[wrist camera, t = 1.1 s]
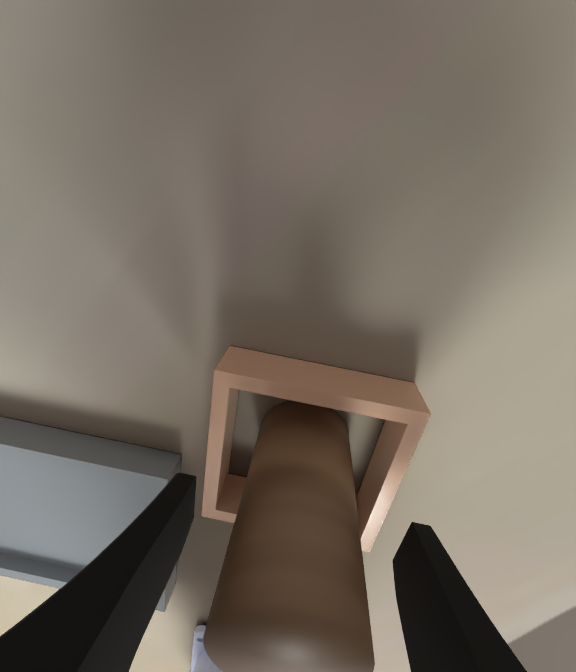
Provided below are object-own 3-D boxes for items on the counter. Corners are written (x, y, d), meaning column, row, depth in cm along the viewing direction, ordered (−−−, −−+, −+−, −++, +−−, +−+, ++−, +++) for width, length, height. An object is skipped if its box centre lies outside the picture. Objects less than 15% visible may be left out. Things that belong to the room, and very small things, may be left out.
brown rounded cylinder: (337, 477, 15) (349, 711, 8) (254, 460, 15) (198, 677, 8) (358, 409, 13) (398, 629, 6) (266, 391, 13) (209, 587, 7)
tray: (175, 583, 20) (164, 611, 18) (-50, 533, 20) (-77, 558, 19) (181, 454, 15) (167, 479, 14) (-107, 394, 16) (-148, 412, 14)
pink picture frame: (364, 511, 16) (369, 552, 14) (215, 479, 16) (201, 516, 14) (415, 383, 13) (431, 413, 11) (229, 345, 13) (214, 369, 11)
